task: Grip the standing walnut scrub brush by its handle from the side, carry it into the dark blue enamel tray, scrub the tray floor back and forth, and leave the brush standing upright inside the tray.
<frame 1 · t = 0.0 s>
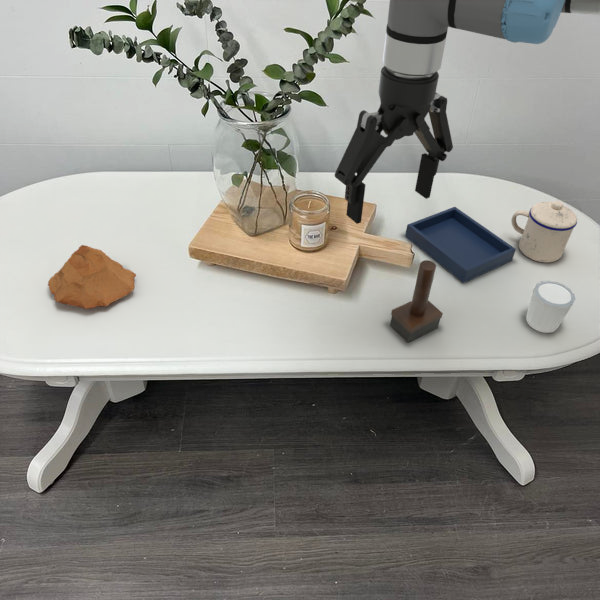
hand: (388, 206, 89), 23 cm above the table, tool pointing down, fingers open, 13 cm apart
teacup with lid: (532, 248, 120), on the table
white short cylinder: (541, 322, 104), on the table
stone: (95, 287, 108), on the table
tray: (457, 248, 119), on the table
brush: (413, 326, 102), on the table
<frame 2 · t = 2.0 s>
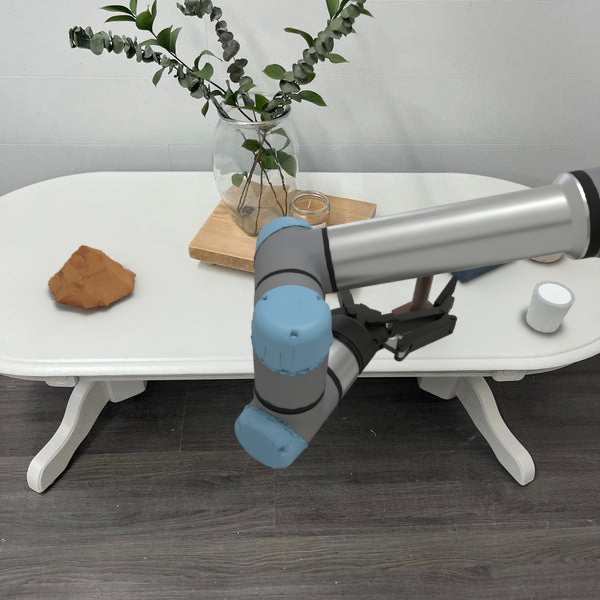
hand: (409, 265, 82), 20 cm above the table, tool horizontal, fingers open, 13 cm apart
nothing on the table moved.
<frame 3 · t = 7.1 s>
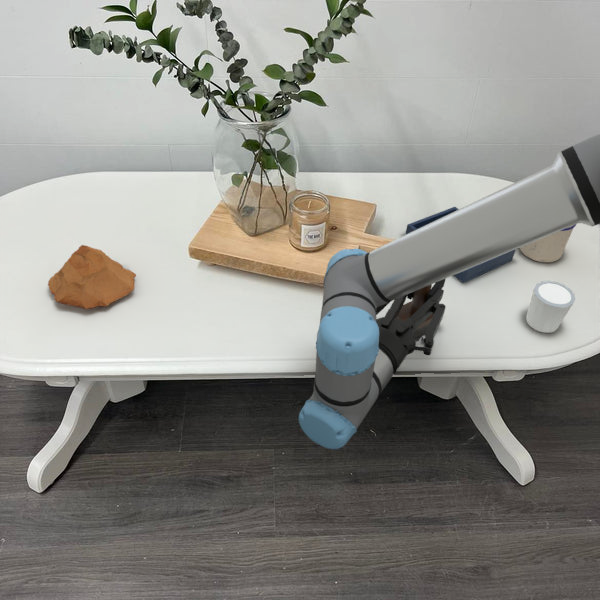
hand: (434, 276, 100), 8 cm above the table, tool horizontal, fingers closed on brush, 3 cm apart
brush: (413, 326, 102), on the table, touching gripper
everything else where it was.
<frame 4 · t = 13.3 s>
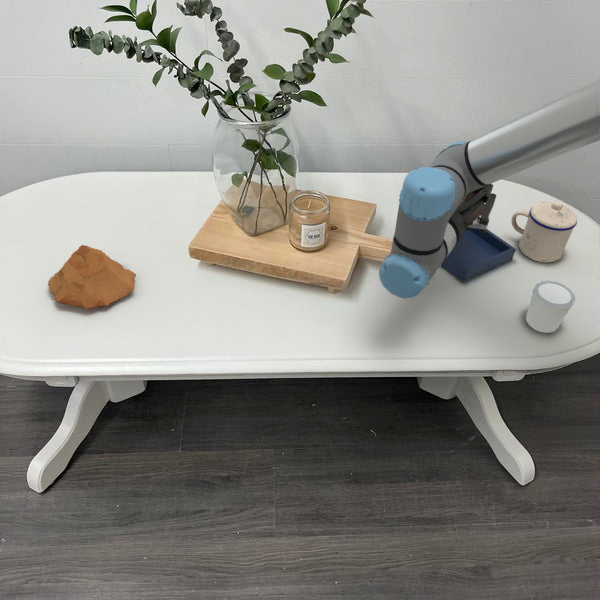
hand: (483, 175, 113), 15 cm above the table, tool horizontal, fingers closed on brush, 3 cm apart
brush: (463, 222, 115), point 7 cm above the table, touching gripper
everything else where it was.
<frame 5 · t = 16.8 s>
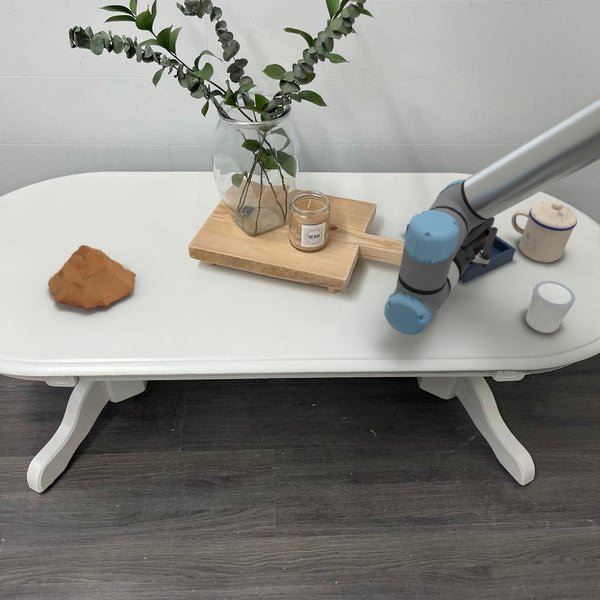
hand: (484, 207, 115), 8 cm above the table, tool horizontal, fingers closed on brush, 3 cm apart
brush: (466, 251, 117), point 1 cm above the table, touching gripper
everything else where it was.
when the fingers open (8 cm above the table, at t = 19.5 s): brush stays where it is, resting on tray.
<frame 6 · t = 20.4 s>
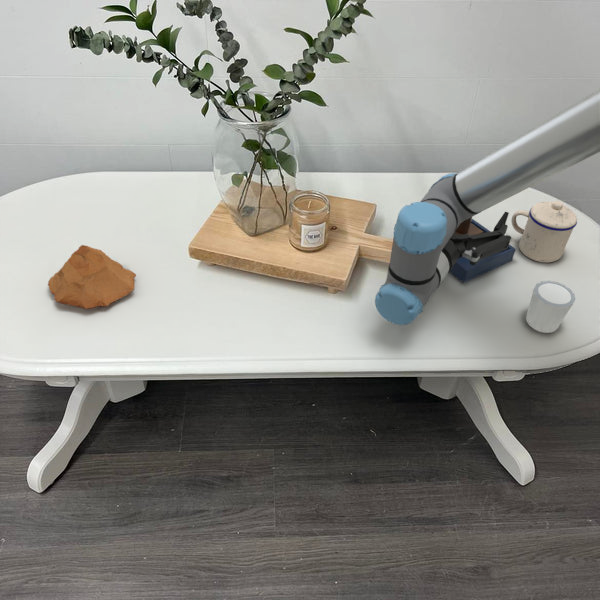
hand: (472, 206, 115), 8 cm above the table, tool horizontal, fingers open, 13 cm apart
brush: (457, 245, 119), point 1 cm above the table, touching tray
everything else where it was.
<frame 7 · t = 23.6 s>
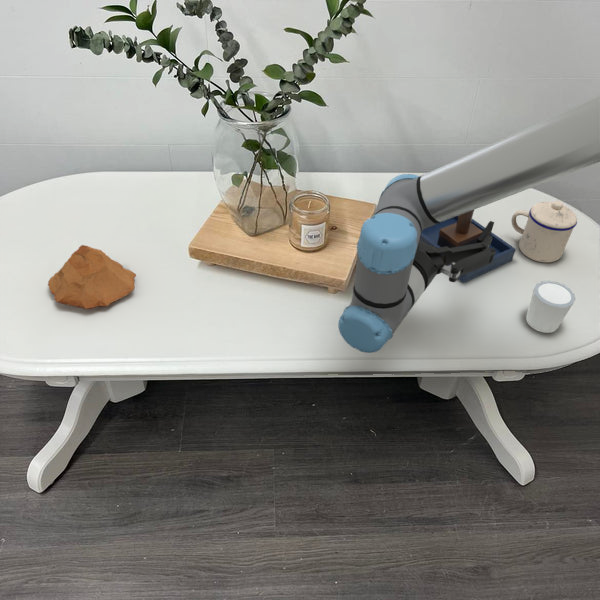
hand: (454, 215, 104), 14 cm above the table, tool horizontal, fingers open, 13 cm apart
nothing on the table moved.
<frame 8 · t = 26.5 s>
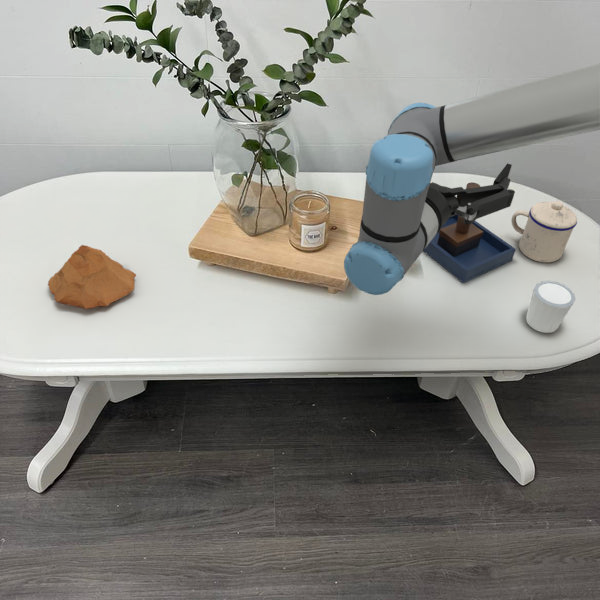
hand: (467, 159, 96), 25 cm above the table, tool horizontal, fingers open, 13 cm apart
nothing on the table moved.
at the end: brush inside the target area in the tray (0.1 cm from its centre), point 0.8 cm above the tray's base; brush tilted 0°; the gripper is holding nothing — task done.
